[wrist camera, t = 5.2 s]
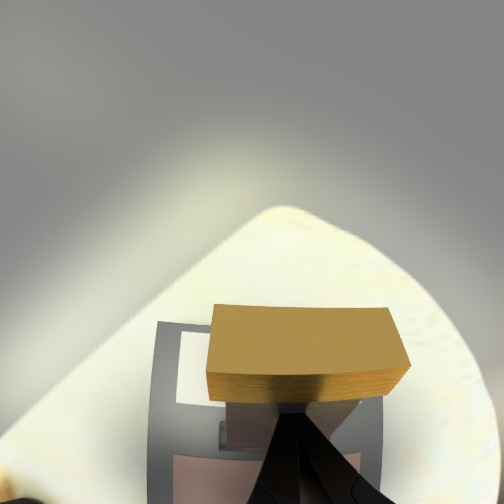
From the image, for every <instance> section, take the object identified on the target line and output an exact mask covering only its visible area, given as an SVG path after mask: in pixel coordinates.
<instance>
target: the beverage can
mask: <svg viewBox="0 0 504 504" xmlns="http://www.w3.org/2000/svg"><path fill="white" fill-rule="evenodd" d="M0 504H38V503H36V502H34V501H32V500H30V499H26V498H19V499H15V500H11V501H6V502H2V503H0Z"/></svg>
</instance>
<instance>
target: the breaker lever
mask: <svg viewBox="0 0 504 504" xmlns="http://www.w3.org/2000/svg"><path fill="white" fill-rule="evenodd" d="M410 367H411V364H410V361H409V358H408V356H407V353H406V351H405V348H404V345H403V343H402V340H401V338H400V335H399V333H398V331H397V328H396V326H395V323H394V321H393V319H392V316H391V314H390V312H389V309H388V308H298V307H265V306H242V305H224V304H214V309H213V316H212V324H211V332H210V339H209V347H208V355H207V364H206V379H207V387H208V394H209V401H220V402H225V405H226V421H220V424H219V439H218V450H219V451H226V452H255V453H266V452H267V449H268V446H269V443H270V441H271V438H272V435H273V432H274V429H275V426H276V423H277V420H278V416H279V414H281V413H292V414H293V413H305V414H306V415H307V416H308V417H309V418H310V419H311V420H312V422H313V423H314V424H315V425H316V426H317V427H318V428H319V430H320V431H321V432H322V433H323V434H324V435H325V436H326V437H327V438H328V440H329V441H330V438H331V435H332V434H333V433H334V432H335V430H336V429H337V428H338V427H339V426H340V425H341V424H342V423H343V422H344V420H345V419H346V418H347V417H348V416H349V415H350V413H351V412H352V411H353V410H354V409H355V408H356V406H357V405H358V404H359V403H360V401H361V400H362V399H363V398H367V397H375V396H382V395H388V393H389V392H390V391H391V390H392V389H393V388H394V386H395V385H396V384H397V383H398V382H399V380H400V379H401V378H402V377H403V376H404V374H405V373H406V372H407V371H408V369H409V368H410Z"/></svg>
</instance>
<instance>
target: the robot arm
mask: <svg viewBox="0 0 504 504" xmlns="http://www.w3.org/2000/svg"><path fill="white" fill-rule="evenodd" d="M246 504H395V503H394V502H393V501H391V500H390V499H389V498H387V497H386V496H385V495H383V494H382V493H381V492H379V491H378V490H377V489H376V488H375V487H373V486H372V485H371V484H370V483H369V482H368V481H367V480H366V479H365V478H364V477H363V476H362V475H361V474H360V473H358V471H357V470H356V469H355V468H354V467H353V466H352V464H351V463H350V462H349V461H348V460H347V459H346V458H345V457H344V456H343V455H342V454H341V453H340V452H339V451H338V449H337V448H336V447H335V446H334V445H333V444H332V443H331V442H330V441H329V440H328V438H327V437H326V436H325V435H324V434H323V433H322V432H321V431H320V430H319V428H318V427H317V426H316V425H315V424H314V423H313V422H312V420H311V419H310V418H309V417H308V416H307V415H306V414H305V413H293V414H292V413H281V414H279V416H278V420H277V423H276V426H275V429H274V432H273V435H272V438H271V441H270V443H269V446H268V449H267V452H266V455H265V458H264V460H263V463H262V466H261V469H260V471H259V474H258V477H257V479H256V483H255V484H254V487H253V489H252V492H251V494H250V496H249V498H248V501H247V503H246Z"/></svg>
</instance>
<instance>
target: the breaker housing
mask: <svg viewBox="0 0 504 504" xmlns="http://www.w3.org/2000/svg"><path fill="white" fill-rule="evenodd" d="M210 332H211V326H208V325H195V324H183V323H172V322H162V321H158V323H157V331H156V339H155V348H154V357H153V366H152V377H151V389H150V402H149V418H148V440H147V504H246V503H247V501H248V498H249V496H250V494H251V492H252V489H253V487H254V484H255V483H256V479H257V477H258V474H259V471H260V469H261V466H262V463H263V460H264V458H265V455H266V453H255V452H226V451H219V450H218V439H219V424H220V421H226V405H225V402H220V401H209V394H208V387H207V379H206V364H207V355H208V347H209V339H210ZM330 442H331V443H332V444H333V445H334V446H335V447H336V448H337V449H338V451H339V452H340V453H341V454H342V455H343V456H344V457H345V458H346V459H347V460H348V461H349V462H350V463H351V464H352V466H353V467H354V468H355V469H356V470H357V471H358V473H360V474H361V475H362V476H363V477H364V478H365V479H366V480H367V481H368V482H369V483H370V484H371V485H372V486H373V487H375V488H376V489H377V490H378V491H380V480H381V466H382V445H383V395H382V396H375V397H367V398H363V399H362V400H361V401H360V403H359V404H358V405H357V406H356V408H355V409H354V410H353V411H352V412H351V413H350V415H349V416H348V417H347V418H346V419H345V420H344V422H343V423H342V424H341V425H340V426H339V427H338V428H337V429H336V430H335V432H334V433H333V434H332V435H331V438H330Z"/></svg>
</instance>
